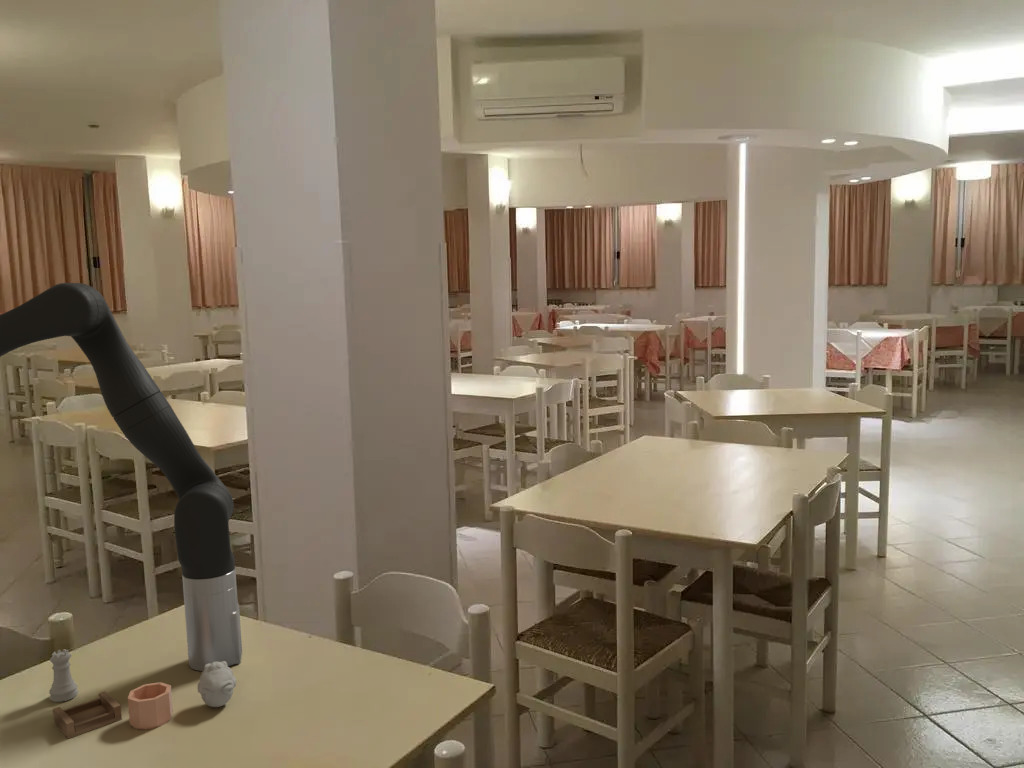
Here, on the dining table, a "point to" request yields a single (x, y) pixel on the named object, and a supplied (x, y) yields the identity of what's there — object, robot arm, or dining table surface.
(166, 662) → the dining table surface
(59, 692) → the rook chess piece
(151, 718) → the cup
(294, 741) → the dining table surface
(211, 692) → the frog figurine
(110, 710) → the trough
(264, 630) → the dining table surface
